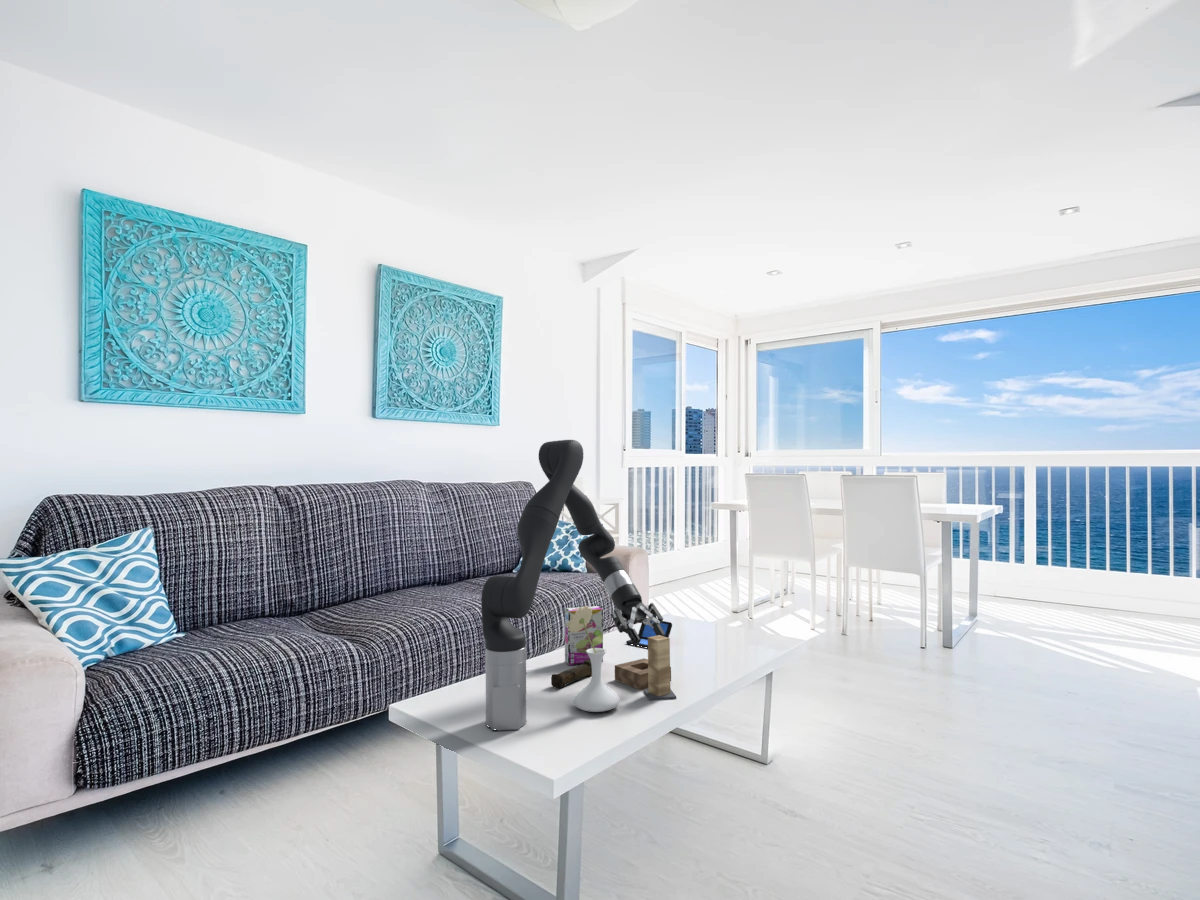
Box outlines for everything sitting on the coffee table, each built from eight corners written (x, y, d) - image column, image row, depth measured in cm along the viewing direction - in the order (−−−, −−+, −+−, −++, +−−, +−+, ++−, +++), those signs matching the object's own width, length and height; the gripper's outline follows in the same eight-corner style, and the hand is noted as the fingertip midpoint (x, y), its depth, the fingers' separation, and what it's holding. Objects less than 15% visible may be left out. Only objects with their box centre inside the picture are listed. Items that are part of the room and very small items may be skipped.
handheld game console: (624, 644, 215) (624, 622, 215) (644, 638, 223) (643, 617, 223) (654, 651, 206) (654, 627, 207) (673, 644, 214) (673, 622, 215)
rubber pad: (676, 698, 160) (676, 696, 160) (649, 700, 159) (649, 698, 159) (669, 689, 167) (669, 687, 167) (643, 691, 166) (643, 689, 166)
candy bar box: (568, 666, 190) (568, 610, 190) (564, 661, 194) (563, 607, 195) (604, 662, 193) (603, 608, 194) (599, 658, 198) (598, 605, 199)
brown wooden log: (561, 690, 168) (561, 673, 168) (550, 687, 170) (550, 670, 171) (606, 674, 182) (606, 657, 183) (596, 671, 185) (596, 655, 185)
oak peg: (670, 693, 163) (669, 638, 163) (658, 696, 160) (657, 640, 161) (660, 689, 166) (659, 635, 167) (648, 692, 164) (647, 637, 164)
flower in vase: (606, 697, 162) (605, 598, 163) (628, 711, 152) (627, 605, 153) (559, 706, 156) (558, 603, 157) (579, 721, 146) (578, 611, 147)
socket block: (671, 681, 174) (670, 666, 174) (641, 690, 167) (640, 674, 167) (644, 672, 182) (644, 658, 183) (614, 680, 176) (614, 665, 176)
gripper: (608, 585, 170) (636, 636, 160) (647, 579, 178) (677, 628, 169) (596, 602, 174) (623, 653, 164) (635, 596, 182) (663, 644, 173)
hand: (650, 640), depth 166 cm, fingers open, 8 cm apart
